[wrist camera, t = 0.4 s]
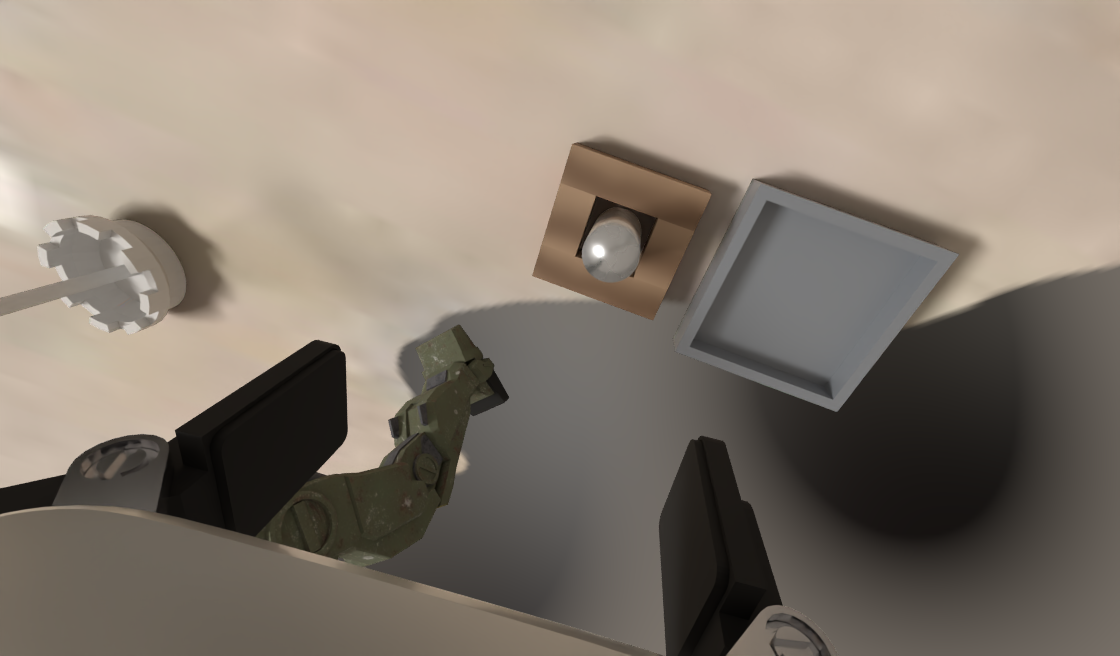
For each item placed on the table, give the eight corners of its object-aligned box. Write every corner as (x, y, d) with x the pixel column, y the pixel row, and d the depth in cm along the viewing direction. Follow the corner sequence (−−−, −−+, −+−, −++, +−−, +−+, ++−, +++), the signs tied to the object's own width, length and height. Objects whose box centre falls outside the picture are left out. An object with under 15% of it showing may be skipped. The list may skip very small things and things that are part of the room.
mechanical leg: (532, 423, 51) (325, 663, 23) (483, 443, 53) (244, 680, 25) (476, 316, 50) (191, 428, 22) (429, 341, 52) (121, 470, 24)
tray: (752, 178, 37) (761, 183, 34) (936, 244, 36) (959, 254, 34) (673, 337, 44) (674, 351, 41) (825, 394, 44) (837, 411, 41)
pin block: (576, 142, 38) (572, 144, 36) (708, 190, 38) (711, 194, 36) (538, 267, 44) (532, 275, 41) (652, 310, 43) (652, 320, 41)
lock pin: (602, 200, 40) (593, 217, 33) (648, 217, 40) (649, 237, 33) (586, 245, 42) (574, 271, 35) (630, 261, 42) (626, 290, 35)
